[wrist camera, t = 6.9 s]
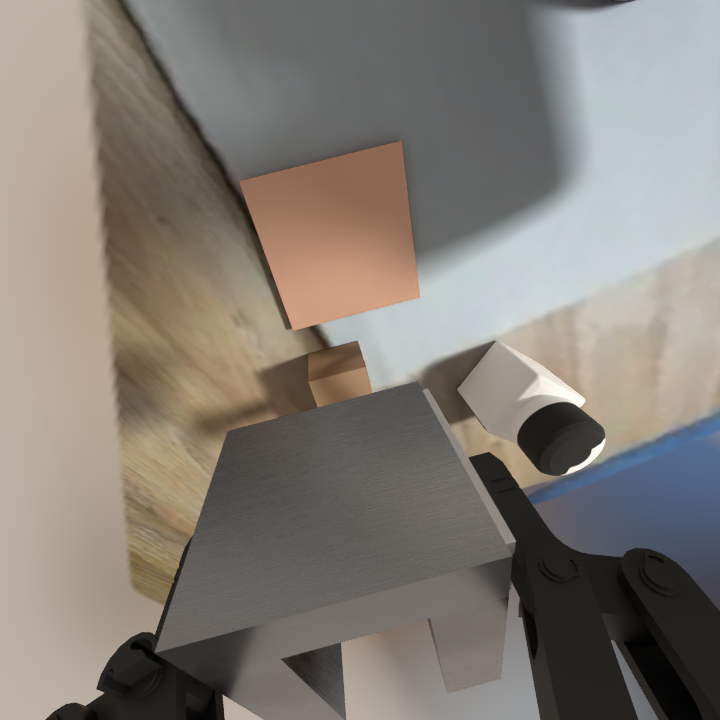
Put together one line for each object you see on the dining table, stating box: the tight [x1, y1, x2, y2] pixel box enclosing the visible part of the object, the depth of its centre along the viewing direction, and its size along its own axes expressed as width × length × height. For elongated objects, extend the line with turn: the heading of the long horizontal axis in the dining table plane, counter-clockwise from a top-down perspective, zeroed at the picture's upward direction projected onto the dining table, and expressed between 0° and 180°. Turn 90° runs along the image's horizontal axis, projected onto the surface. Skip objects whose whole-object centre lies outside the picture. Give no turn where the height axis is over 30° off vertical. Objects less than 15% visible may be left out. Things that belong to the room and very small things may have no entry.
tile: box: [239, 140, 420, 330], centre depth 25 cm, size 12×12×1 cm
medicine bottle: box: [457, 341, 605, 476], centre depth 30 cm, size 7×7×12 cm
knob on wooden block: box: [308, 341, 372, 407], centre depth 26 cm, size 5×8×14 cm, turn 12°
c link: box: [154, 381, 513, 720], centre depth 10 cm, size 8×7×6 cm
